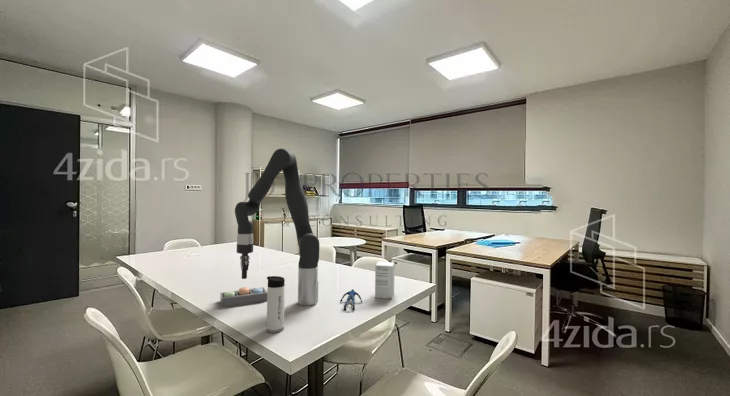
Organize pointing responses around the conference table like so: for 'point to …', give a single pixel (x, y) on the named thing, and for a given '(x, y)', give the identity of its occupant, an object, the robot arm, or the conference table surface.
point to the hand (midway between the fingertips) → (244, 278)
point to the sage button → (229, 294)
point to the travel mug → (275, 304)
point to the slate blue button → (257, 290)
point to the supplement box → (384, 279)
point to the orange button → (243, 291)
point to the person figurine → (350, 298)
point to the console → (243, 298)
